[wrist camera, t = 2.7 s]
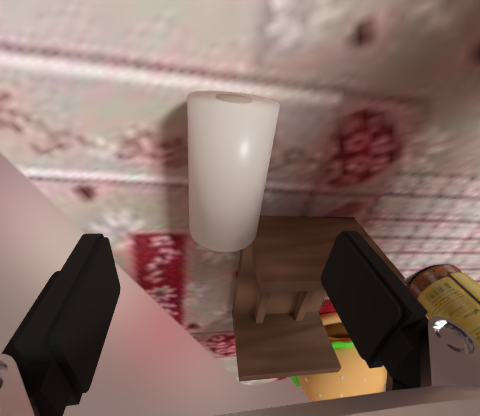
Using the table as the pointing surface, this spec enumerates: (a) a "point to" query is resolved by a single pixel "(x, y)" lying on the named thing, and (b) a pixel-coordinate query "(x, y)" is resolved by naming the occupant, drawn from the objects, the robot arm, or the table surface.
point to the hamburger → (342, 369)
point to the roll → (228, 166)
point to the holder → (287, 297)
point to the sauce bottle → (449, 296)
